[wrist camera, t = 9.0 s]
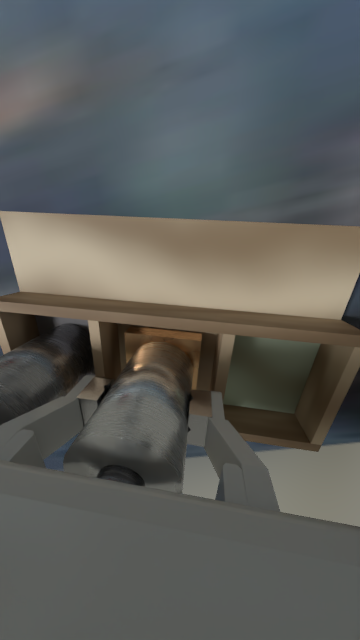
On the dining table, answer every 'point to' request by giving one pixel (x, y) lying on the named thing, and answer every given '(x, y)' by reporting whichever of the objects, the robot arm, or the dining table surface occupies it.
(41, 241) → the wooden compartment tray
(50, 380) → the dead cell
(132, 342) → the brown square tile
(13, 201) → the dining table surface
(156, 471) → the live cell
